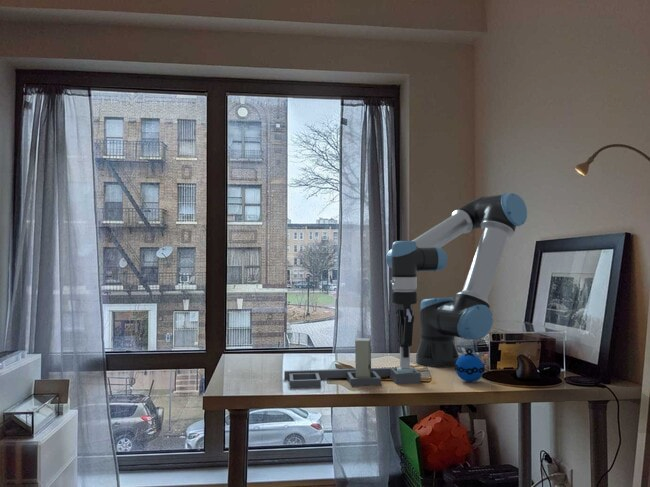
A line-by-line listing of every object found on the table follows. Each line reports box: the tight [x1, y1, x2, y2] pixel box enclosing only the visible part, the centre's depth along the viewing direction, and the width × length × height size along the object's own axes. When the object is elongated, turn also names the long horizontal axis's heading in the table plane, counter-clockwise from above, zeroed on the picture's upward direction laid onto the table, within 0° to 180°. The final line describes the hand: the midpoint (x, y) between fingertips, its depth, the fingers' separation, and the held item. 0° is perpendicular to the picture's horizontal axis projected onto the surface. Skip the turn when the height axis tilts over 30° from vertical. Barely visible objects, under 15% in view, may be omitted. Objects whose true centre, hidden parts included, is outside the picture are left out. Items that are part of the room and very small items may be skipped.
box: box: [354, 337, 372, 378], centre depth 149 cm, size 5×4×13 cm
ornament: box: [454, 348, 485, 383], centre depth 148 cm, size 9×9×10 cm
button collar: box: [389, 366, 422, 385], centre depth 150 cm, size 8×8×3 cm
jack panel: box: [283, 367, 391, 389], centre depth 149 cm, size 38×11×2 cm, turn 96°
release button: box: [396, 366, 413, 373], centre depth 150 cm, size 5×5×2 cm
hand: (404, 367), depth 150 cm, fingers closed
